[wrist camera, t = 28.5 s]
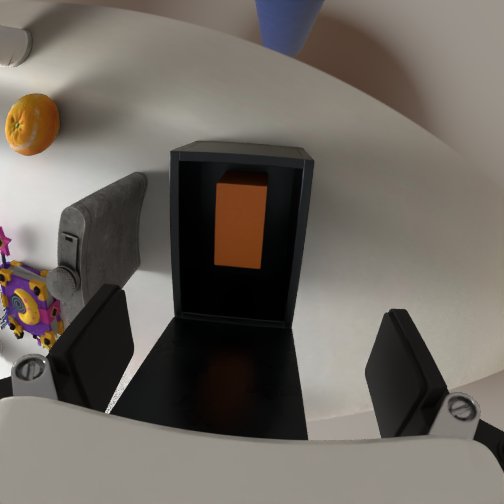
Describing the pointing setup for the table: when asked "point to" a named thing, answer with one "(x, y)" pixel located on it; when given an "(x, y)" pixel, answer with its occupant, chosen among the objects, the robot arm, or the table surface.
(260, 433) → the bin lid
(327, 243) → the table surface
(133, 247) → the flask
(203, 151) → the bin
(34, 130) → the fruit
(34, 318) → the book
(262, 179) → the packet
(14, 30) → the travel mug
